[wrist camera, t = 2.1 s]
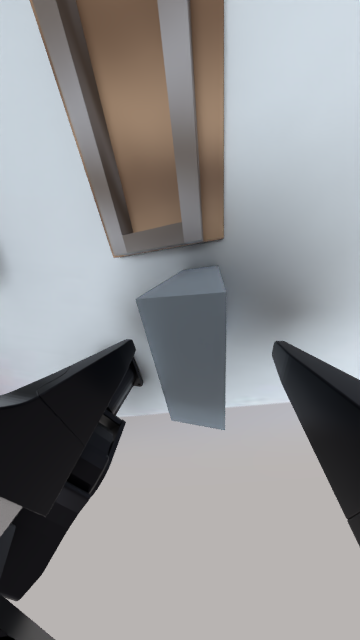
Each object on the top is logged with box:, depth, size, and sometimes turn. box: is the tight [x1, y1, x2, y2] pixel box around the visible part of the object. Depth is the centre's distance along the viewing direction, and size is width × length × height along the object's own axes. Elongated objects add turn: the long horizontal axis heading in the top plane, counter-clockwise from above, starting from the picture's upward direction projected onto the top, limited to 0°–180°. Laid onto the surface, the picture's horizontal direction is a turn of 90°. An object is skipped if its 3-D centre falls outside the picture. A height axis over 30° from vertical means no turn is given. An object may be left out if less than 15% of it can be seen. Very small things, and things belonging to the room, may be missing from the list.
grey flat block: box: [136, 266, 226, 430], centre depth 10 cm, size 8×3×9 cm, turn 8°
